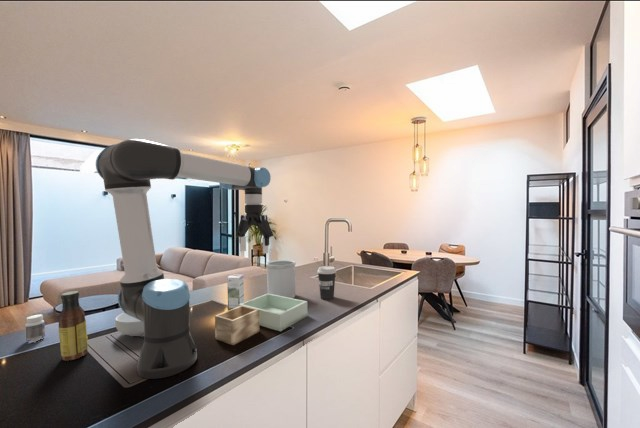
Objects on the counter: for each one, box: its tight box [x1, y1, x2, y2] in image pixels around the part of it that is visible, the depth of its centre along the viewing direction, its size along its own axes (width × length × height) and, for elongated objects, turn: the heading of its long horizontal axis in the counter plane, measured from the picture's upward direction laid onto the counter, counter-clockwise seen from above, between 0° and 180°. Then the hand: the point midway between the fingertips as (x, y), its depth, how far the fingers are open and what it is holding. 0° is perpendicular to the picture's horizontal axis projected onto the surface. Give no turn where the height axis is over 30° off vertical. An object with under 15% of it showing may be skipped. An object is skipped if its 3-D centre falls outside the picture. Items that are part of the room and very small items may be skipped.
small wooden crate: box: [214, 305, 260, 346], centre depth 98 cm, size 12×9×8 cm
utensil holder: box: [265, 259, 296, 299], centre depth 141 cm, size 15×15×18 cm
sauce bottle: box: [57, 290, 89, 362], centre depth 85 cm, size 6×6×20 cm
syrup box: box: [226, 274, 245, 310], centre depth 127 cm, size 6×6×14 cm
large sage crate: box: [239, 293, 309, 332], centre depth 114 cm, size 17×22×6 cm
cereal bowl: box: [114, 311, 144, 337], centre depth 102 cm, size 17×17×7 cm
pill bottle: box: [24, 313, 46, 343], centre depth 97 cm, size 5×5×8 cm
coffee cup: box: [316, 265, 337, 301], centre depth 138 cm, size 10×10×15 cm
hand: (254, 252), depth 124 cm, fingers open, 13 cm apart
